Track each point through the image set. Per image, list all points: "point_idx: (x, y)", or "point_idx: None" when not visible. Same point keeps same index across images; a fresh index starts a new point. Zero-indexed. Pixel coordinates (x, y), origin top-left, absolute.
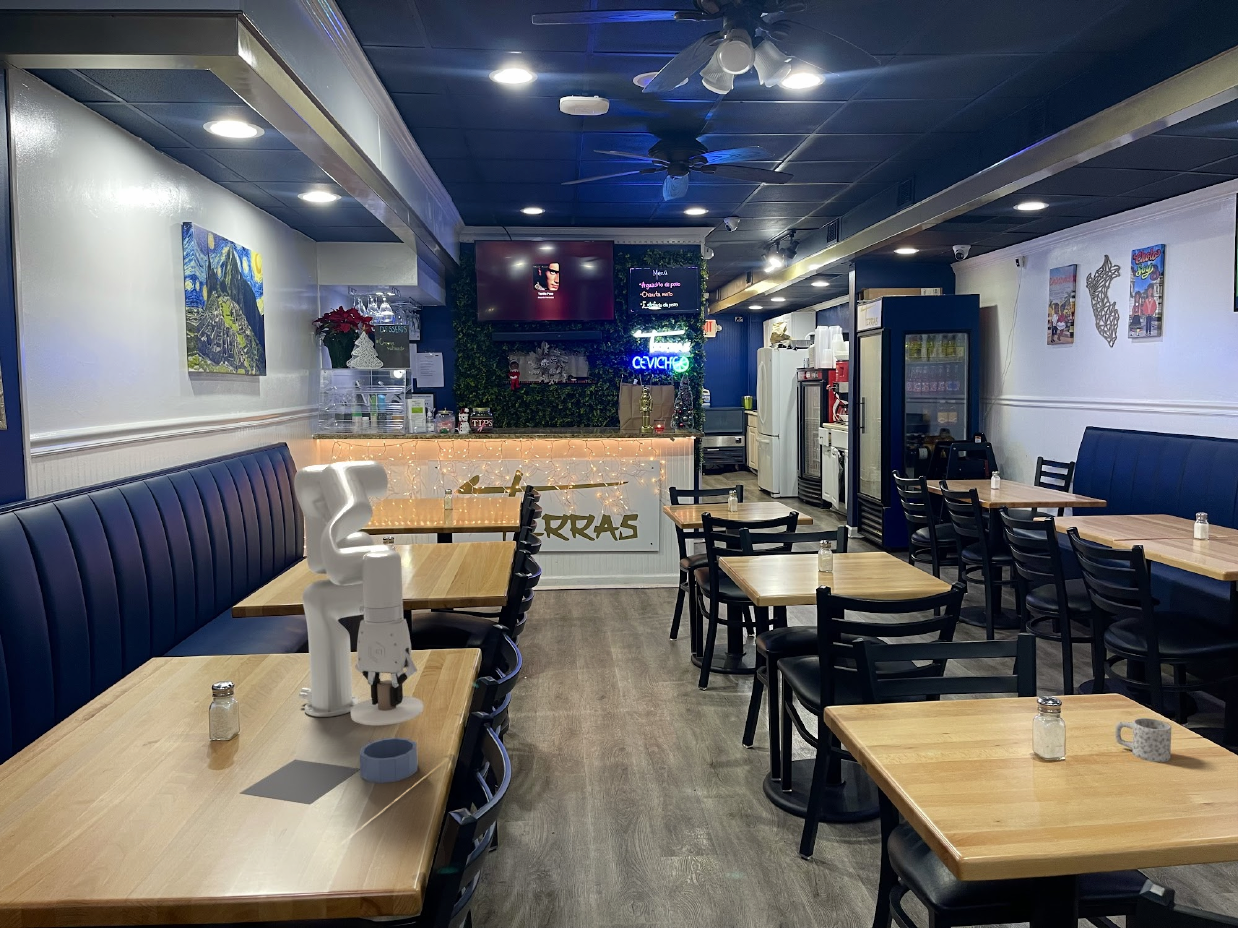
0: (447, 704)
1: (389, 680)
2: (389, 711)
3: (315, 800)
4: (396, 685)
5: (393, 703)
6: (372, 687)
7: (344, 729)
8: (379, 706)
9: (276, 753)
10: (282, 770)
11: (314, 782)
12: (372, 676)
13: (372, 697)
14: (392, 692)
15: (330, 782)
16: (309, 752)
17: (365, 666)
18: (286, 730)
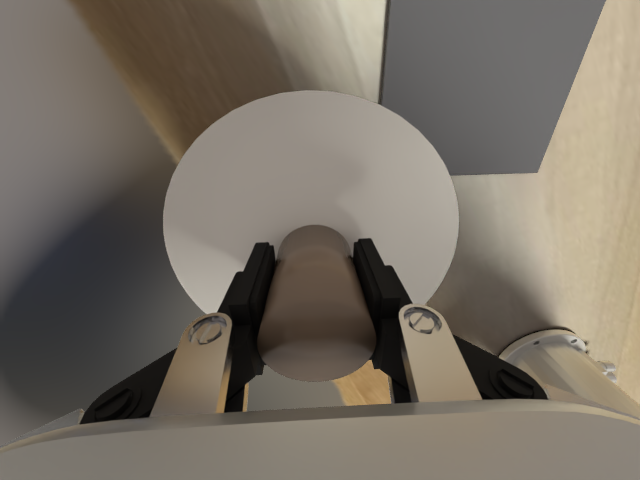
0: (367, 399)
1: (325, 376)
2: (274, 223)
3: None
4: (206, 327)
5: (253, 249)
6: (387, 288)
7: (485, 307)
8: (328, 233)
9: (585, 193)
10: (548, 112)
11: (445, 75)
12: (418, 360)
13: (374, 253)
14: (241, 283)
15: (406, 89)
16: (516, 217)
17: None
18: (591, 278)
